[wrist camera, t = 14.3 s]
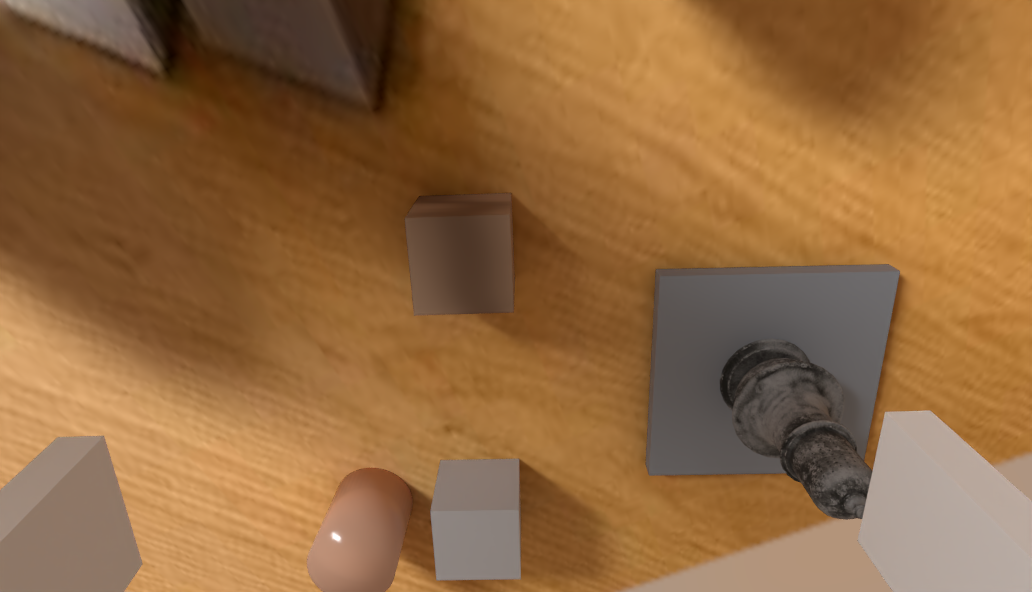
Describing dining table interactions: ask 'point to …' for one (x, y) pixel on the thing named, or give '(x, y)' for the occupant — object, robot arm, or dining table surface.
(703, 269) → the slate board
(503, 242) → the walnut block
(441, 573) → the grey block
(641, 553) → the dining table surface
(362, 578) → the peach rounded capsule
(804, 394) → the salt shaker
